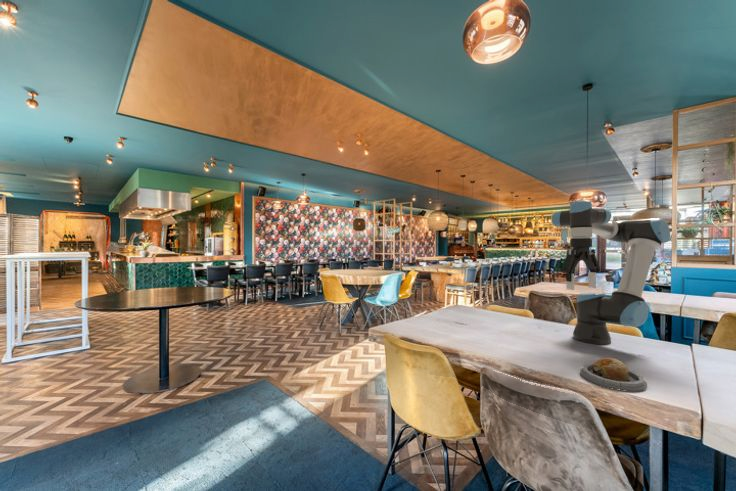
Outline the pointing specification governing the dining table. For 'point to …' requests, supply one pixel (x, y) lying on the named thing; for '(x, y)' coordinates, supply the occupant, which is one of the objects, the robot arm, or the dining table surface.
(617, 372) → the bread roll
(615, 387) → the slate plate
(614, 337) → the dining table surface
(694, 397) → the dining table surface
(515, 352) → the dining table surface
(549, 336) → the dining table surface
